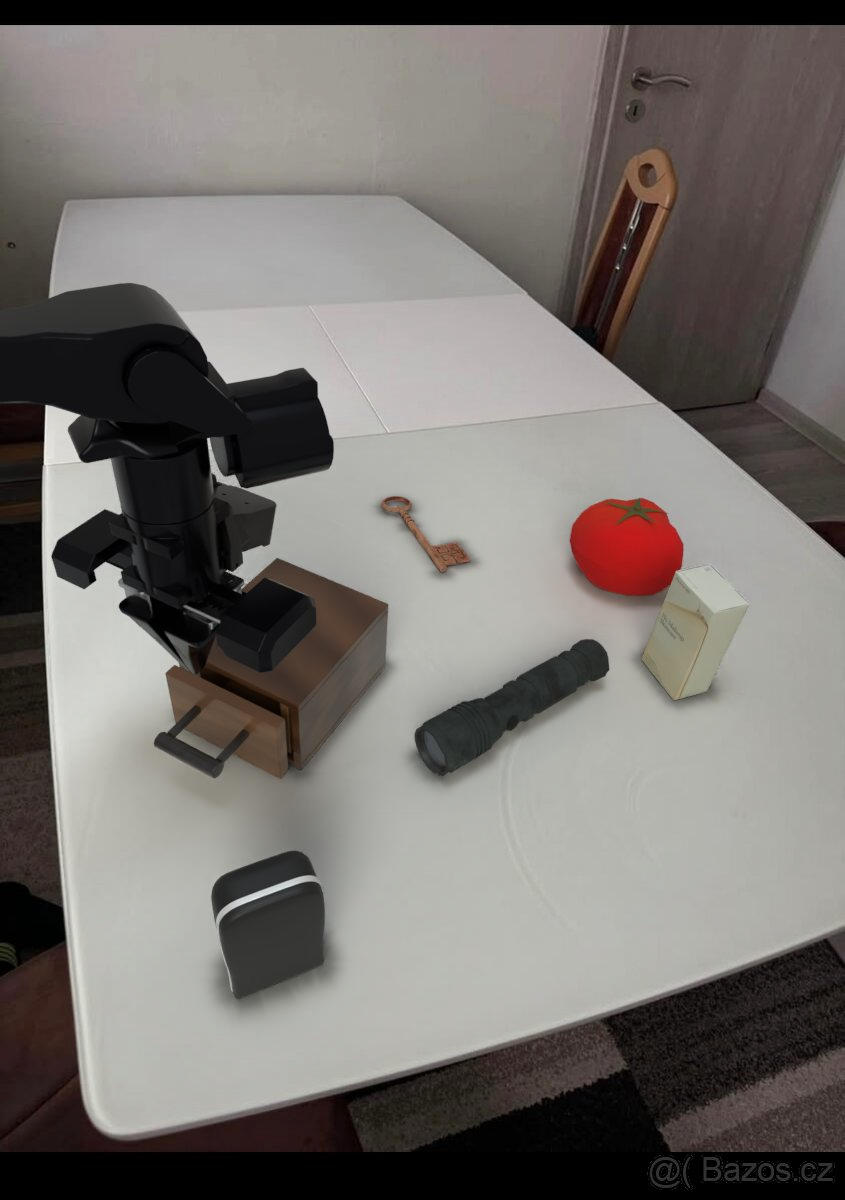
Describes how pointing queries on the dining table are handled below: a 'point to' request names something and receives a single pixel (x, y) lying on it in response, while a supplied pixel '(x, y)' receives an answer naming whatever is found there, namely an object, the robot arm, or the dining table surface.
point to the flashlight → (506, 707)
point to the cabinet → (318, 658)
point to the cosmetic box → (694, 630)
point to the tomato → (627, 546)
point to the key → (430, 549)
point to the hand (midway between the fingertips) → (196, 669)
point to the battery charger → (269, 921)
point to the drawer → (226, 723)
